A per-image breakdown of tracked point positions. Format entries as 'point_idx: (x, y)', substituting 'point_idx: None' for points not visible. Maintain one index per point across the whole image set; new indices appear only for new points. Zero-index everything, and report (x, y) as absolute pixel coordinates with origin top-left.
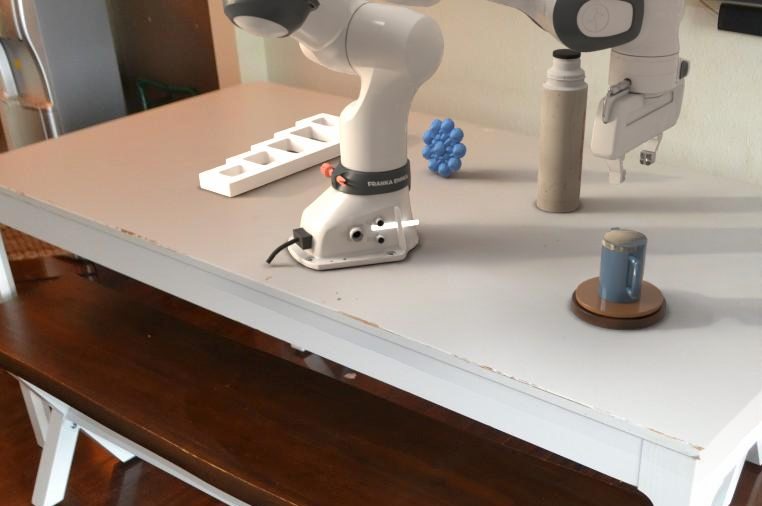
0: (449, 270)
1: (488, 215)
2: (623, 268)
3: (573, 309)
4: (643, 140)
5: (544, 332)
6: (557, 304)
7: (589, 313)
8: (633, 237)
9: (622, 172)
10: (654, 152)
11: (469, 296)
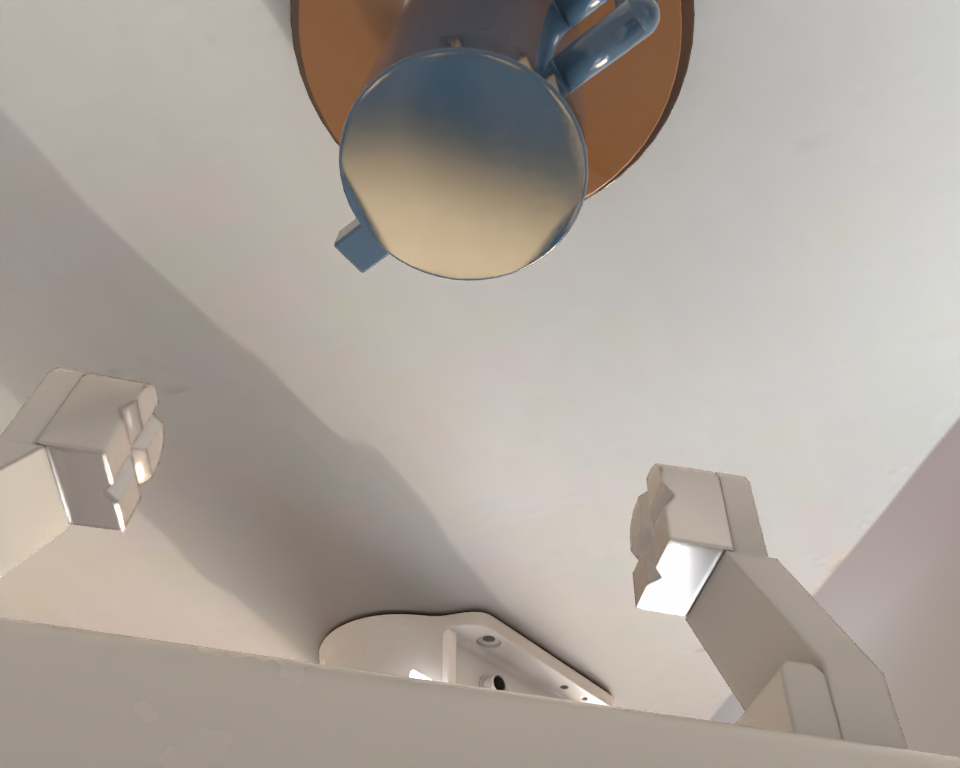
0: (480, 528)
1: (110, 548)
2: (581, 87)
3: None
4: (480, 732)
5: (784, 214)
6: None
7: (666, 115)
8: (437, 137)
9: (740, 547)
10: (42, 445)
11: (610, 454)
